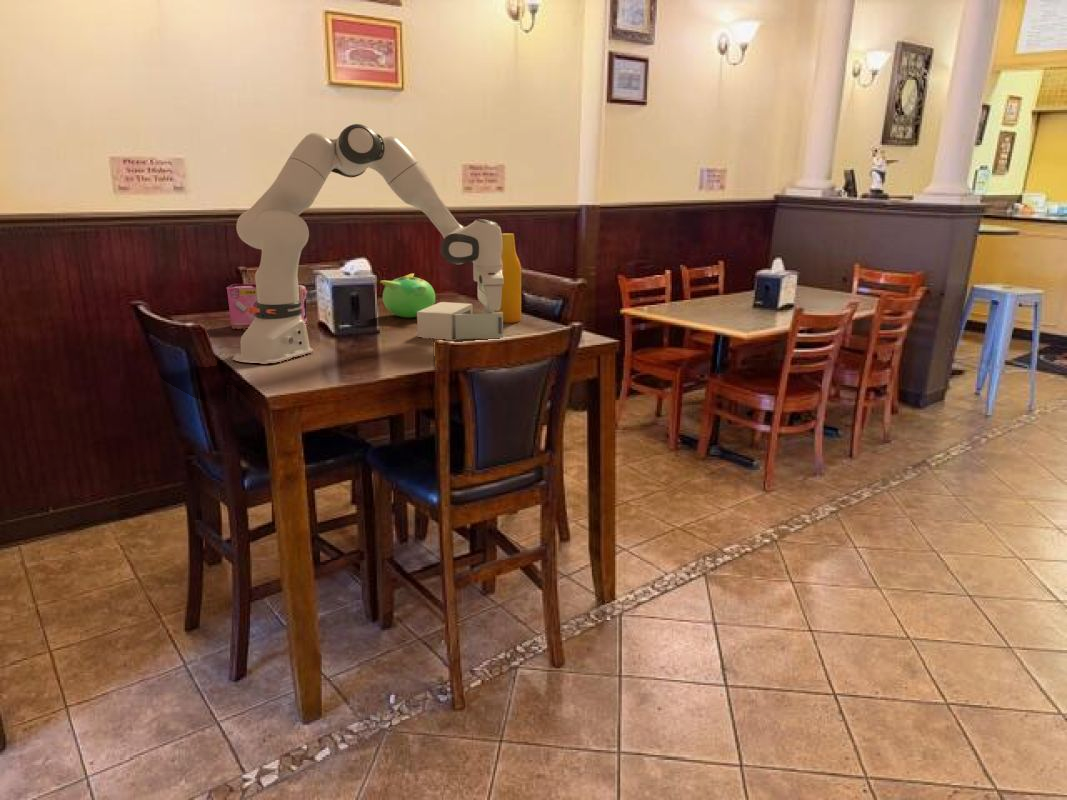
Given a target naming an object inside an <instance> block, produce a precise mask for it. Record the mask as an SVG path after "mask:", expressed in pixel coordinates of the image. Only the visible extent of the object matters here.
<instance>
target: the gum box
mask: <svg viewBox="0 0 1067 800" xmlns="http://www.w3.org/2000/svg"><path fill="white" fill-rule="evenodd" d="M298 290H299V300H300V301H301V305H302V313H301V317H302V319H303V321H304V322H305V323H306V321H307V322H308V319H307V318H308V317H307V311H308V310H307V306H308V305H307V304H308V303H307V294H308V290H307V287H306V284H305V283H303V282H302V283H299V282H298ZM226 291H227V292H226V293H227V299H228V308H229V309H228V310H229V316H230V317H229V318H230V325H250V324H251V323H252V322H253V320H254V319H255V316H254V315H255V314H249V313H248V312H249V311H248V309H249V308H248V307H250V306H251V307H256V303H257V302H258V300H257V290H256V283H238V284H237V283H233V284H231V285H229V286H227V287H226Z"/></svg>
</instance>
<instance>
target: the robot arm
mask: <svg viewBox="0 0 1067 800" xmlns="http://www.w3.org/2000/svg"><path fill="white" fill-rule="evenodd" d="M368 168H369V169H372V170H374V171H376V172H377V173H378V174H379V175H380V176H382V178H383V180H384V181H385V182H386V184H387V185H388V187H389V188H390V189H391V191H393V193H394V194H395V195H396V196H397V197H398V198H399V199H400V200H401V201H402V202H403V203H405V204H407V205H408V206H411V207H415V208H416V209H418V210H419V211H421V212H422V213H423V214H425V215H426V217H427V218H428V219H429V220H430V222H431V223H432V224H433V225H434V227H435V228H436V229H437V230H438V232H439V233H440V234H441V235H442V238H443V239H442V242H441V244H440V251H441V254H442V256H443V258H444V259H445V260H446V261H447V262H449V263H451V264H454V265H462V264H466V263H470V262H471V263H472V264H473V267H472V268H473V270H472V271H473V274H472V275H473V281H474V282H477V299H478V301H479V302H480V303H482V305H483V309H484V313H494V311H498V310H500V307H501V296H502V286H501V285H502V284H504V278H503V263H502V260H501V254H502V234H503V233H502V228H501V226H500V225H499V223H497V222H496V221H493V220H490V219H481V218H478V219H475V220H473V222H472V223H469V225H467V226H464V225H463V224H461V223H460V222H459V221H458V220H457V219H456V218H455V216H454V215H453V214H452V212H451V211H450V210H449V209H448V207H447V206H446V205H445V203H444V202H443V201H442V199H441V197H440V196H439V195H438V193H437V191H436V189H435V187H434V185H433V183H432V182H431V179H430V178H429V176H428V173H427V172H426V170H425V169H424V168H423V166H422V165H421V163H420V162H419V160H418V159H417V158H416V156H415V155H414V154H413V153H412V152H411V151H410V149H409V148H408V147H407V146H406V145H405V144H403V142H401V140H399V139H398V138H397V137H395V136H385V137H382V135H380V134H379V133H377V132H374V131H373V130H372V129H371V128H370V127H367V126H366V125H364V124H359V123H354V124H350V125H349V126H348V125H347V127H345V128H344V129H342V131H341V132H340V134H339V136H338V137H337V138H334V139H333V138H328V137H326V135H323V134H322V133H317V132H311V133H309V134H306V135H305V137H304V138H302V139H301V141H300V142H299V143H298V144H297V145H296V146H295V148H294V149H293V151H292V152H291V153H290V156H289V157H288V159H287V161H286V162H285V164H284V165H283V166H282V169H281V170H280V172H279V173H278V175H277V177H276V179H275V180H274V182H273V183H272V184H270V185H271V186H269V188H267V190H266V191H265V192H264V193H263V194H262V196H260V197H259V198H258V200H257V201H256V202H255V203H254V204H253V205H252V206H251V207H250V208H249V209H248V210H246V211H244V212H243V213H242V214H240V216H239V217H238V218H237V221H236V225H235V226H236V233H237V235H238V237H239V238H240V240H241V241H242V242H244V243H245V244H246V245H248V246H249V247H251V248H254V249H257V250H261V257H260V263H259V267H258V268H257V270H256V272H255V273H254V278H255V280H254V281H255V284H256V290H257V300H258V302H257V303H256V307H251V306H250V307H248V308H249V309H248V311H249V312H248V313H249V314H255V315H254V316H255V319H254V320H253V322H252V323H251V324H250V326H249V327H248V329H245V331H244V332H243V334H242V335H241V338H240V352H241V354H239V357H243V358H239V359H241V360H249V361H257V362H275V361H279V360H283V359H286V358H290V357H293V356H296V355H300V354H304V353H308V352H312V351H313V352H314V350H313V348H312V347H310V346H311V345H310V340H309V335H308V329H307V324H305V322H304V321H303V319H302V317H301V313H302V305H301V301H300V300H299V290H298V283H299V280H298V279H299V277H298V271H299V264H300V258H301V255H302V250H303V249H304V247H305V246H306V245H307V243H308V241H309V237H310V230H309V226H308V225H307V223H306V221H305V220H304V219H303V217H300V215H301V214H302V213H303V212H304V211H306V210H308V209H309V208H310V207H311V206H312V205H313V203H314V202H315V199H316V198H317V196H318V195H319V193H320V191H321V189H322V188H323V186H324V184H325V183H326V181H327V179H328V177H329V175H330V174H331V173H334V174H338V175H340V176H342V177H345V178H357V177H359V176H361V175H363V174H364V173H365V172H366V170H367V169H368Z"/></svg>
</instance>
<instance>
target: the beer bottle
mask: <svg viewBox="0 0 1067 800" xmlns="http://www.w3.org/2000/svg"><path fill="white" fill-rule="evenodd" d="M515 241H516V240H515V233H502V254H501V260H502V263H503V278H504V284H502V285H501V286H502V296H501V307H500V310H498V311H493V313H498V312H503V322H504V323H503V324H512V323H518V322H520V321H521V320H522V265H521V262H520V259H519V257H518V255H517V251H516V244H515Z"/></svg>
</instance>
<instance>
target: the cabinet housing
mask: <svg viewBox="0 0 1067 800" xmlns="http://www.w3.org/2000/svg"><path fill="white" fill-rule="evenodd" d="M473 308H474V307H473V303H463V302H448V301H440V302H437V303H434V305H432V306H430V307H427V308H425V309H423V310H420V311H418V312H417V317H416V320H417V321H416V323H417V338H418V337H422V338H421V339H429V338H431V340H432V338H434V339H433V340H435V339H436V340H442V339H446V340H445V341H452V340H453V339H452V314H474V312H473V311H474V310H473Z"/></svg>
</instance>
